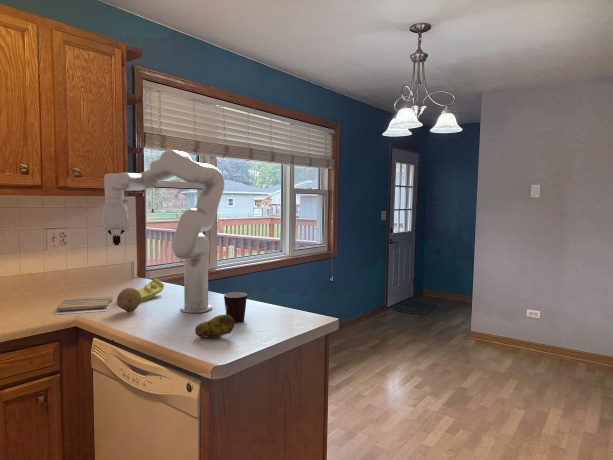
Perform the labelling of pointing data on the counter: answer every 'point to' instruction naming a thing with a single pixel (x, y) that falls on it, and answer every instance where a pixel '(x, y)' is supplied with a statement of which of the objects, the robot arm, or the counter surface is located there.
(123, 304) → the natural sponge
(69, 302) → the laid floor
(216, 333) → the potato
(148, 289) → the plastic component
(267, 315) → the counter surface
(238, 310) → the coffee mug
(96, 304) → the plank
